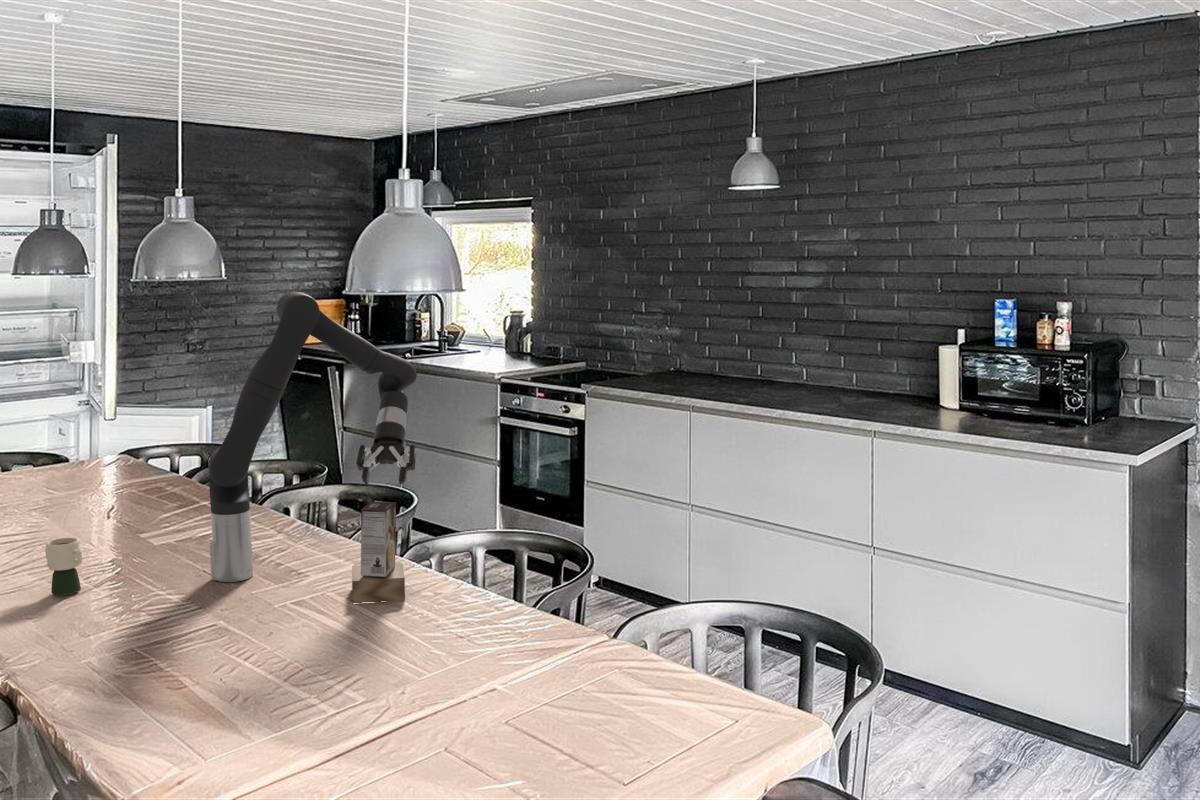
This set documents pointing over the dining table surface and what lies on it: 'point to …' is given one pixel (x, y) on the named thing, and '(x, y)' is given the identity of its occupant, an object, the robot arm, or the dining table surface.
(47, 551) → the character mug
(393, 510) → the coffee box
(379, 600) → the walnut block
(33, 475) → the dining table surface
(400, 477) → the robot arm
